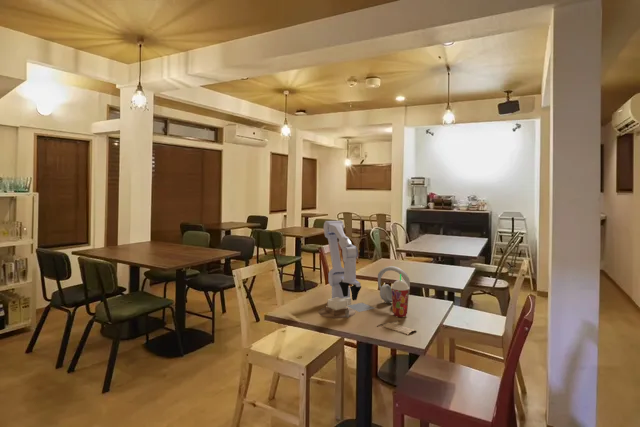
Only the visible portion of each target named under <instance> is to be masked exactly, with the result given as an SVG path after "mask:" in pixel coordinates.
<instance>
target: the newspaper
mask: <svg viewBox="0 0 640 427" xmlns="http://www.w3.org/2000/svg"><path fill="white" fill-rule="evenodd" d="M379 326H380V327H383V328H386V329H390V330H391V329H392V331H394V330H395V332H397V331H398V332H397V333H400V332H401V333H400V334H403V333H404V334H403V335H406V334H407V335H406V336H409V334H410V333H412V332H414V331H416V332H417V330H415V329H413V328H409V327H406V326H404V325H400V324H397V323H395V322H391V321H389V322H385V323H381V324H379Z"/></svg>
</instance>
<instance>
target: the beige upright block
mask: <svg viewBox="0 0 640 427" xmlns="http://www.w3.org/2000/svg"><path fill="white" fill-rule="evenodd" d="M348 305H352V297H350V298H339V297H336V298H332V297H331V298H328V299H327V306H328V307H329V308H331V309H333V310H340V309H344V308H346V307H347V306H348Z"/></svg>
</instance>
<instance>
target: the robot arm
mask: <svg viewBox="0 0 640 427" xmlns="http://www.w3.org/2000/svg"><path fill="white" fill-rule="evenodd" d="M323 234H324V237H325V238H326V239H327V241H328V247H329V254H330V261H331V266H332V268H331V269H330V270H329V271H328V273H327V276H328V279H327V280H328V285H330V287H331V299H332V298H336V297H339V298H351V301H357V299H358V297H359V296H358V295H359V293H360V291H361V289H362V285H361V282H360V281H358V280H357V274H356V273H357V272H356V271H357V262H356V261H357V258H358V256H359V250H358V247H357V246H356V245H354V244H352V241H351V240H350V238H349V236H346V234H345V231H344V222H343V221H342V219H341V220H325V221H324V223H323ZM339 246H340V249H341V250H342V251H341V254H342V255H341V254H340V250H339ZM341 256H342V261H343V263H344V264H343V266H342V261H341ZM350 285H351V286H350Z"/></svg>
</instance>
